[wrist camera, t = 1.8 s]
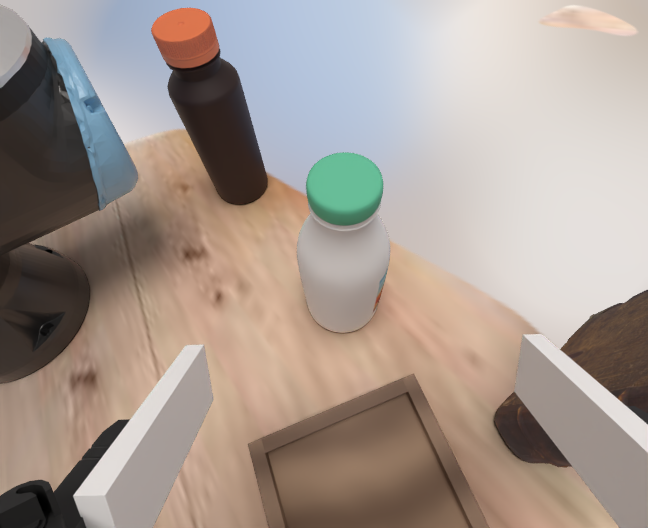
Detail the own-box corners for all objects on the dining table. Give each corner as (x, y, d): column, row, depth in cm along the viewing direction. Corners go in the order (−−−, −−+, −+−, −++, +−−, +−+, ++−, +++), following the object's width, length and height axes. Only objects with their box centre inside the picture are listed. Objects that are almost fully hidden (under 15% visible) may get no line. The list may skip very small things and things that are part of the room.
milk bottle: (359, 347, 35) (380, 256, 18) (294, 315, 37) (253, 204, 19) (388, 285, 38) (430, 154, 21) (326, 258, 40) (316, 117, 22)
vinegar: (210, 177, 46) (130, 16, 29) (256, 158, 48) (206, -8, 30) (228, 213, 44) (151, 60, 26) (276, 192, 45) (235, 31, 27)
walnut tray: (254, 443, 32) (247, 444, 30) (409, 377, 34) (413, 373, 32) (314, 674, 25) (311, 697, 23) (504, 574, 27) (518, 586, 25)
